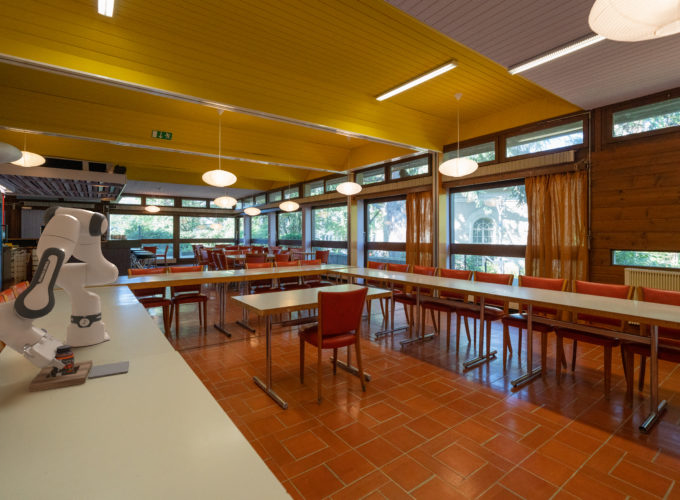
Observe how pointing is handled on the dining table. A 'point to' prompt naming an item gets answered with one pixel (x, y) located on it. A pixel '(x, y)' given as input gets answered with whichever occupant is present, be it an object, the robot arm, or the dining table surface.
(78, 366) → the walnut dock board
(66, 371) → the supplement bottle
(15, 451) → the dining table surface
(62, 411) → the dining table surface
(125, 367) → the slate-grey rubber mat
